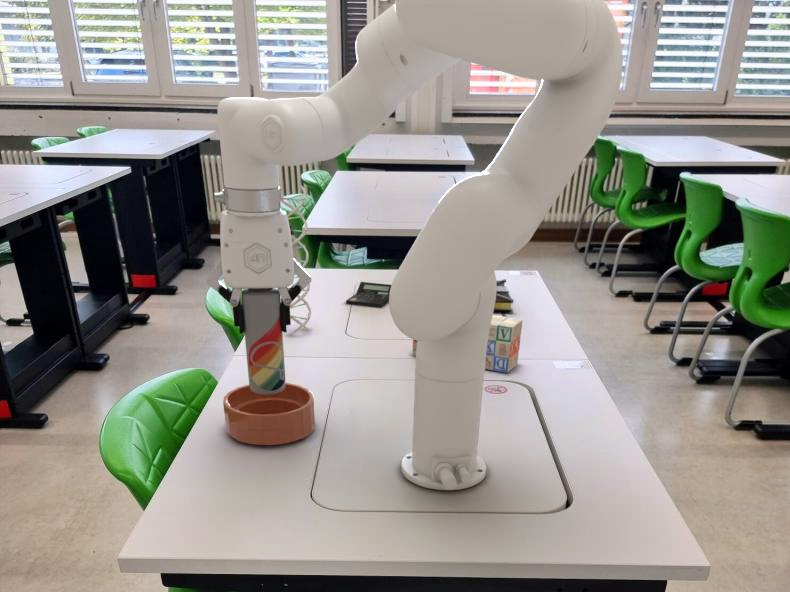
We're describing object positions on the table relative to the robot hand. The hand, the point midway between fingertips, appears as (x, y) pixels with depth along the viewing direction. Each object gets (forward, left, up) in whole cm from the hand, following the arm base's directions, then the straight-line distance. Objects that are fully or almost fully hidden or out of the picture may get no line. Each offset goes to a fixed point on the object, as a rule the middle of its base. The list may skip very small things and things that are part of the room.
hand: (263, 329), depth 111 cm
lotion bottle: (0, 0, -10) cm, 10 cm away
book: (+74, -54, -17) cm, 93 cm away
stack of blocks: (+30, -40, -17) cm, 53 cm away
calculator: (+78, -27, -17) cm, 84 cm away
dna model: (+52, -7, -17) cm, 55 cm away
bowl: (0, 0, -17) cm, 17 cm away
